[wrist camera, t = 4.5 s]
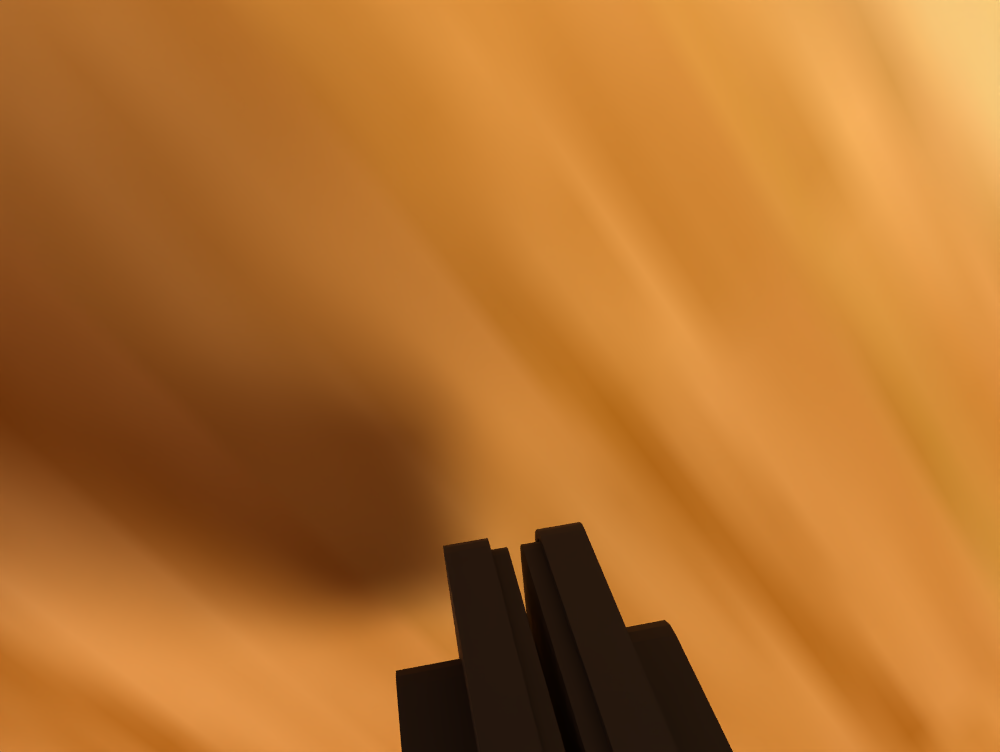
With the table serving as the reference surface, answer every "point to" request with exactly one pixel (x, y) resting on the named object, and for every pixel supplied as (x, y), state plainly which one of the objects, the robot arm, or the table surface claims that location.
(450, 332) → the table surface
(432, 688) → the robot arm
